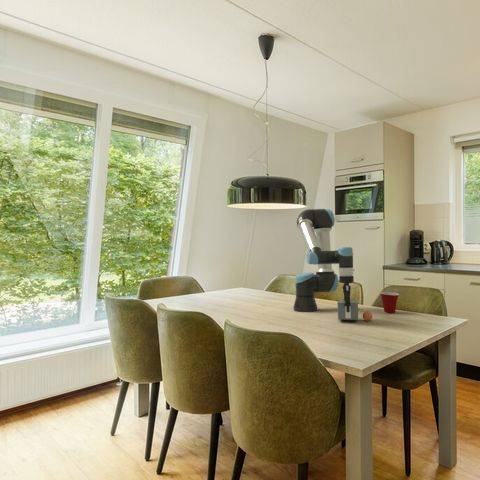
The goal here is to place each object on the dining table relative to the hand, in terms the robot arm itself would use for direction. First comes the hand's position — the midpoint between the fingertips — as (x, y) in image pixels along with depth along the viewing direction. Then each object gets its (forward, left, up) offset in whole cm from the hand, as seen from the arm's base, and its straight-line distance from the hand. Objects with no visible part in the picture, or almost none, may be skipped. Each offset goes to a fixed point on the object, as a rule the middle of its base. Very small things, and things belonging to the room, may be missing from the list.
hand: (347, 316), depth 204 cm
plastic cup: (+26, +25, -3) cm, 37 cm away
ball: (+10, 0, 0) cm, 10 cm away
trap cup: (0, 0, -1) cm, 1 cm away
